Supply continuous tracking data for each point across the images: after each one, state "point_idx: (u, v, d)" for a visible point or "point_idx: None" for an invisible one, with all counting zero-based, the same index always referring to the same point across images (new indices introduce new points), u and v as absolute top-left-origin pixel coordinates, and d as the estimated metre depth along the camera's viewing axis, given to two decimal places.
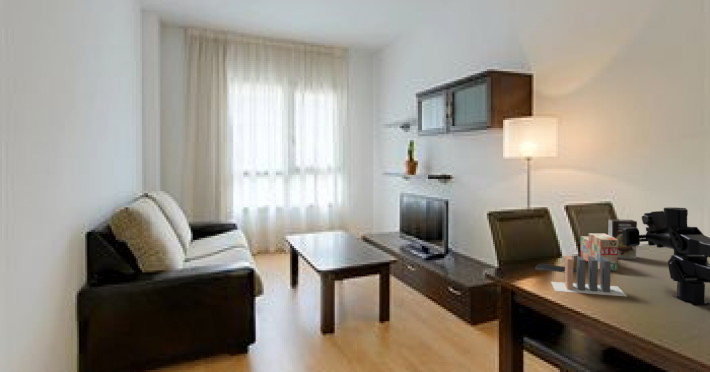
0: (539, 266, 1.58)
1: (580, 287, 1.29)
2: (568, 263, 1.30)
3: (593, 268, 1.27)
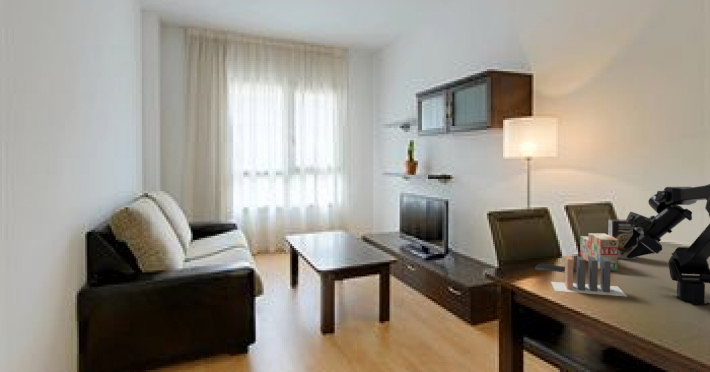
0: (539, 266, 1.58)
1: (580, 287, 1.29)
2: (568, 263, 1.30)
3: (593, 268, 1.27)
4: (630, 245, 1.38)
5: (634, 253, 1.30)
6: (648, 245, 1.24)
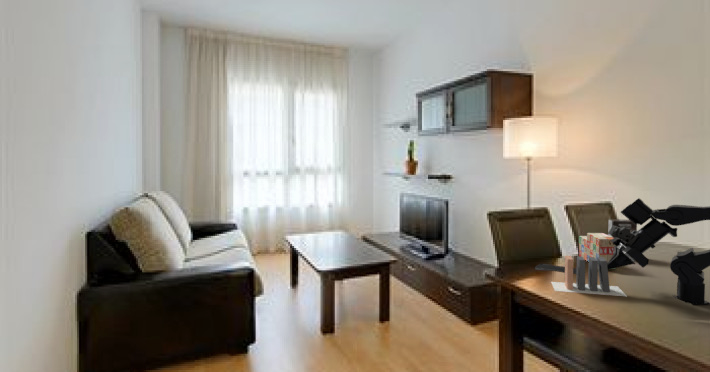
0: (539, 266, 1.58)
1: (580, 287, 1.29)
2: (568, 263, 1.30)
3: (593, 268, 1.27)
4: None
5: (614, 264, 1.26)
6: (635, 258, 1.17)
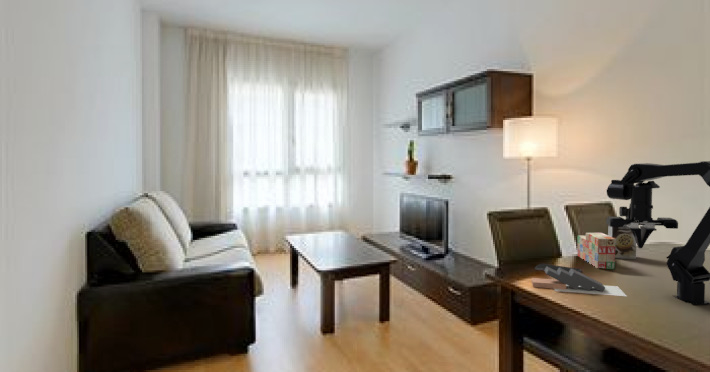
0: (539, 266, 1.58)
1: (573, 287, 1.29)
2: (537, 286, 1.33)
3: (567, 278, 1.30)
4: (641, 242, 1.32)
5: (636, 240, 1.32)
6: (607, 223, 1.35)
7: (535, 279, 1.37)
